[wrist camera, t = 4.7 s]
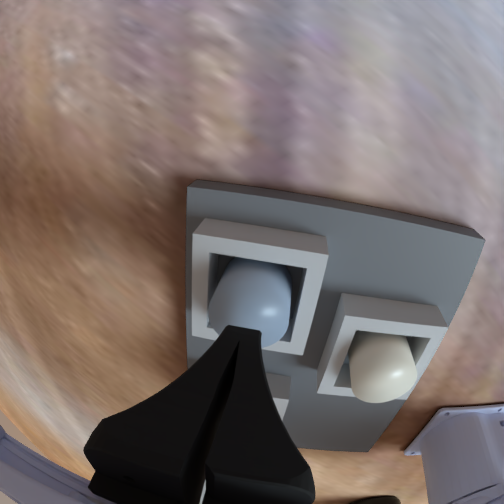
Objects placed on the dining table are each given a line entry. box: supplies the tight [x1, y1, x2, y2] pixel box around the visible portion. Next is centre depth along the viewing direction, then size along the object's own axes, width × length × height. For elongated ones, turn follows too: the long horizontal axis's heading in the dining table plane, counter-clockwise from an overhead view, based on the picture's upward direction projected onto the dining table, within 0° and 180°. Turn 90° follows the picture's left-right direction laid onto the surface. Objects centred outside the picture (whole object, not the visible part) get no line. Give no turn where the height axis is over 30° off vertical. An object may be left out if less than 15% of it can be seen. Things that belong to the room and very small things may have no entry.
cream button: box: [348, 330, 417, 403], centre depth 16 cm, size 4×4×3 cm
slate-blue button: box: [208, 257, 292, 348], centre depth 15 cm, size 4×4×3 cm
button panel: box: [186, 180, 485, 452], centre depth 19 cm, size 16×21×4 cm
